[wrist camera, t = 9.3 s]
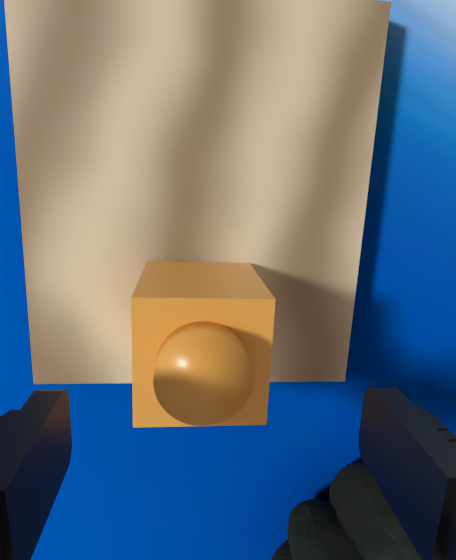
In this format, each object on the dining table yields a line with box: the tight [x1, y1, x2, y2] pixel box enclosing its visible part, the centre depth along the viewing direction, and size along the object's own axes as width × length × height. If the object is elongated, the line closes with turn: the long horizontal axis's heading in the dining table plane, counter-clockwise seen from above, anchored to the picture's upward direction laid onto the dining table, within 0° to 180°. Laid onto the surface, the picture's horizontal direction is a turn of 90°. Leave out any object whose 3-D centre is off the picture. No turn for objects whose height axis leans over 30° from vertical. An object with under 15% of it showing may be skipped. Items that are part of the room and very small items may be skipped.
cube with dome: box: [131, 261, 276, 427], centre depth 17 cm, size 5×5×7 cm
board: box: [4, 0, 391, 384], centre depth 18 cm, size 16×18×5 cm
